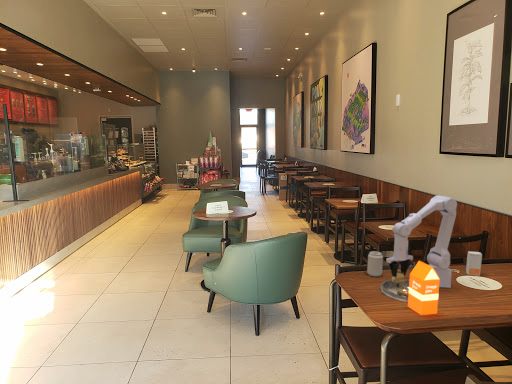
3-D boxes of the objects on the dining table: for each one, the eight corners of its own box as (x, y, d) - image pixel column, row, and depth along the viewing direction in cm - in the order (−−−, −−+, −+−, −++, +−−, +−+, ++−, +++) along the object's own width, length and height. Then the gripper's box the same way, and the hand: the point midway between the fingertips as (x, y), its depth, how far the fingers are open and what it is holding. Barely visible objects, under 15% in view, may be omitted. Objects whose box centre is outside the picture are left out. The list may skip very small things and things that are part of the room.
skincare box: (467, 274, 201) (469, 253, 200) (465, 272, 205) (467, 251, 204) (480, 276, 200) (482, 254, 198) (478, 273, 204) (480, 252, 202)
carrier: (426, 284, 186) (427, 276, 186) (444, 305, 163) (445, 295, 162) (376, 281, 189) (377, 273, 189) (387, 301, 166) (387, 292, 165)
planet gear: (397, 277, 186) (398, 268, 185) (407, 282, 180) (408, 273, 179) (387, 279, 183) (388, 270, 183) (397, 284, 178) (397, 274, 177)
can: (380, 272, 203) (381, 250, 202) (383, 277, 196) (384, 255, 194) (365, 271, 204) (367, 250, 202) (368, 276, 197) (369, 254, 195)
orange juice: (420, 315, 153) (424, 267, 150) (407, 306, 161) (410, 260, 159) (437, 313, 155) (441, 266, 152) (423, 304, 163) (426, 259, 161)
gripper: (405, 244, 186) (403, 271, 188) (382, 247, 180) (380, 274, 182) (416, 248, 179) (414, 275, 181) (393, 251, 174) (391, 279, 175)
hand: (398, 275), depth 181 cm, fingers closed on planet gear, 5 cm apart
